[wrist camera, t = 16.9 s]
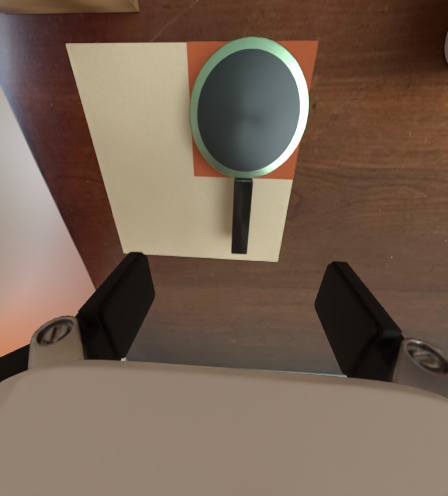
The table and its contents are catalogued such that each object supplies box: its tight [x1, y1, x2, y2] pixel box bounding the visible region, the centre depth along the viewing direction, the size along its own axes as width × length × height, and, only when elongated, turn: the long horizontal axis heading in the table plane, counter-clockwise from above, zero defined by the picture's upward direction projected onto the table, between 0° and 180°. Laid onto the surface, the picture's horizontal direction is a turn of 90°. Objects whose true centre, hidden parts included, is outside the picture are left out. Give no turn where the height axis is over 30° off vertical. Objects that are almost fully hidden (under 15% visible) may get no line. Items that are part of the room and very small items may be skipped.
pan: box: [189, 36, 309, 254], centre depth 20 cm, size 18×10×4 cm, turn 179°
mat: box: [66, 41, 319, 262], centre depth 23 cm, size 22×22×1 cm
